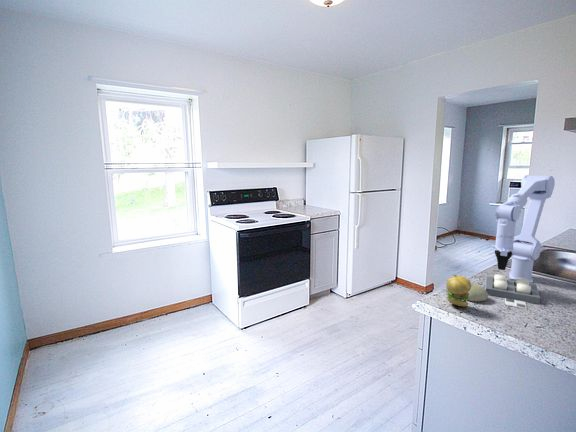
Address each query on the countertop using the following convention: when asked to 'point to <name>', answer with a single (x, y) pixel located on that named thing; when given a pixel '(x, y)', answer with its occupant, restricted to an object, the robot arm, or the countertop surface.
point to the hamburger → (458, 290)
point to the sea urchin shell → (477, 293)
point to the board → (513, 291)
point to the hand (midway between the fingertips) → (501, 269)
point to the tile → (515, 303)
